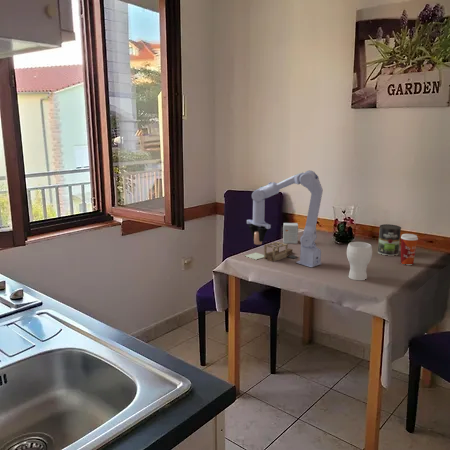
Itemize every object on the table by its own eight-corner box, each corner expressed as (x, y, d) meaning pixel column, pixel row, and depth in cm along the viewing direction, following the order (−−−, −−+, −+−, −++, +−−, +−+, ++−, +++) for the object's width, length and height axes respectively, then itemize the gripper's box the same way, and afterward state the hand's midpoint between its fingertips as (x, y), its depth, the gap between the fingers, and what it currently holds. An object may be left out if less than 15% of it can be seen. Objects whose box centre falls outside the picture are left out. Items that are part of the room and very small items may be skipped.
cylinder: (263, 243, 226) (264, 231, 224) (257, 245, 223) (258, 233, 222) (257, 241, 229) (258, 230, 227) (252, 243, 226) (252, 231, 225)
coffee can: (399, 256, 229) (402, 229, 225) (378, 255, 231) (380, 228, 228) (397, 250, 238) (399, 224, 235) (376, 249, 241) (378, 223, 237)
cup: (365, 273, 205) (367, 241, 202) (373, 281, 195) (376, 248, 191) (342, 273, 205) (344, 241, 201) (349, 282, 195) (351, 248, 191)
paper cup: (405, 267, 213) (407, 238, 210) (394, 262, 221) (397, 234, 217) (419, 265, 215) (422, 236, 212) (408, 260, 223) (411, 232, 219)
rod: (292, 253, 235) (292, 249, 235) (271, 262, 222) (271, 257, 222) (288, 252, 237) (288, 248, 236) (267, 261, 224) (267, 256, 223)
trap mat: (298, 257, 228) (298, 256, 228) (293, 258, 226) (293, 258, 226) (292, 255, 231) (292, 254, 231) (287, 257, 229) (287, 256, 229)
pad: (267, 256, 229) (267, 256, 229) (255, 260, 224) (255, 259, 224) (255, 253, 235) (255, 252, 235) (244, 256, 230) (244, 255, 230)
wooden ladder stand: (287, 257, 229) (287, 244, 227) (273, 261, 222) (273, 248, 221) (277, 254, 233) (278, 241, 232) (264, 258, 227) (264, 245, 225)
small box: (297, 241, 257) (297, 222, 255) (297, 243, 252) (298, 225, 250) (282, 240, 258) (283, 222, 256) (283, 243, 253) (283, 225, 250)
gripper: (275, 214, 220) (274, 241, 223) (253, 210, 230) (253, 236, 234) (265, 216, 215) (264, 244, 218) (243, 212, 226) (243, 238, 229)
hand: (258, 240), depth 226 cm, fingers closed on cylinder, 4 cm apart
